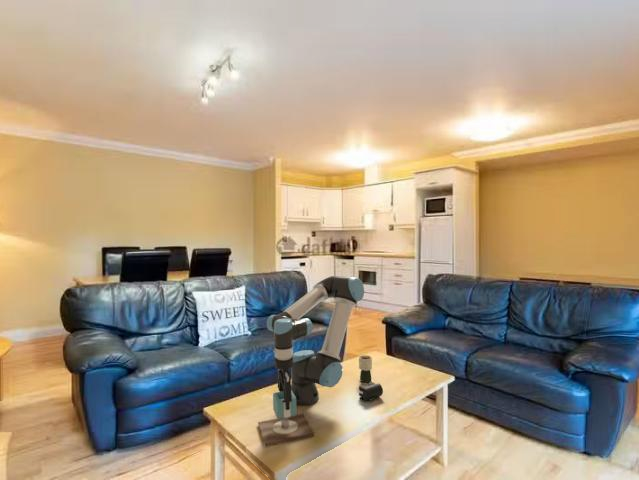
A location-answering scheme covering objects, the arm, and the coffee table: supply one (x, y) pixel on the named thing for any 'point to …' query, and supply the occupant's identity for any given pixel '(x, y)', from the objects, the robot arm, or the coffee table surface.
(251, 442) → the coffee table surface
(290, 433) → the post stand
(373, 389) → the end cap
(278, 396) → the teal ring
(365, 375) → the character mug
